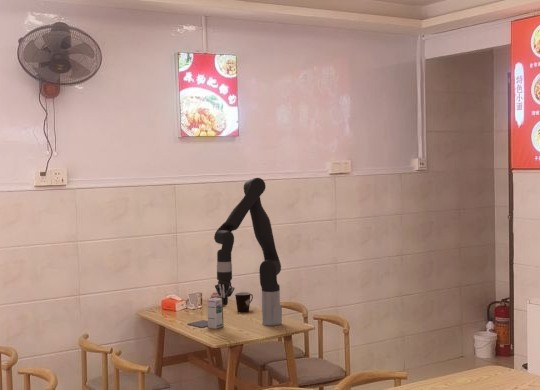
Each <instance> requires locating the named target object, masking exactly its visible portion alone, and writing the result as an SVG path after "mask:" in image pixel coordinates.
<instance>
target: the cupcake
mask: <svg viewBox="0 0 540 390" xmlns="http://www.w3.org/2000/svg"><path fill="white" fill-rule="evenodd" d="M212 298H221V299H222V297H221V296H219V294H218V292H217V290H216V289H215V290H214V291H213V292H212V293H211V295H210V297H209V299H212Z"/></svg>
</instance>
